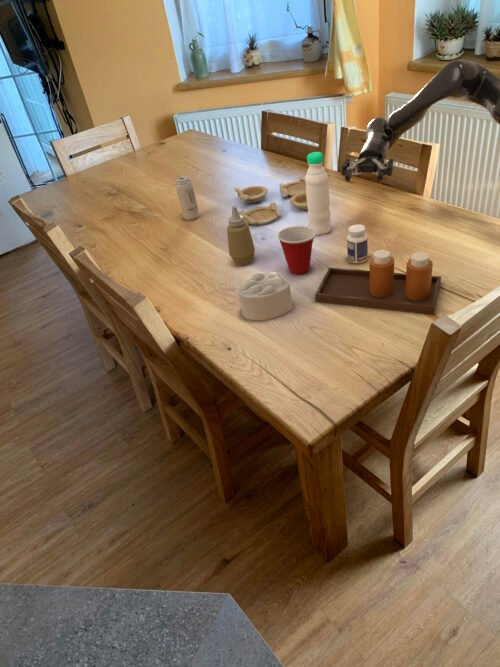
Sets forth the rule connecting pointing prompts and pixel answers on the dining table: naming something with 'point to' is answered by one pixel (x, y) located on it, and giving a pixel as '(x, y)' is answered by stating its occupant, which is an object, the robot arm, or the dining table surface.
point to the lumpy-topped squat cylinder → (265, 296)
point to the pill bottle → (357, 244)
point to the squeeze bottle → (240, 239)
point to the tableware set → (271, 212)
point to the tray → (356, 292)
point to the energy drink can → (187, 198)
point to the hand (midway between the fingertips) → (362, 178)
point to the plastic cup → (297, 247)
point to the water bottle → (317, 194)
